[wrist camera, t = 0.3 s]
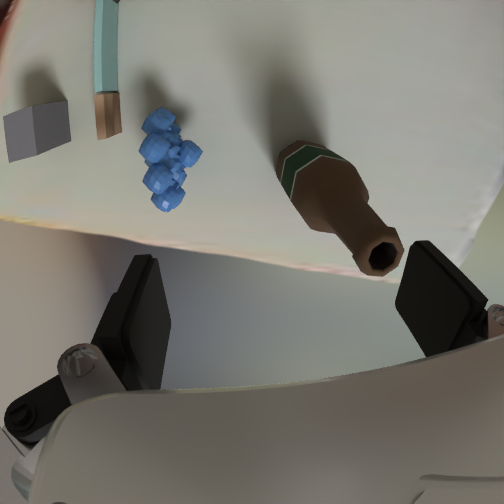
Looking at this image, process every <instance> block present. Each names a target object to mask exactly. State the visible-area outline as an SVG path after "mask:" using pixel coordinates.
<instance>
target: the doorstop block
mask: <svg viewBox="0 0 504 504" xmlns="http://www.w3.org/2000/svg"><path fill="white" fill-rule="evenodd" d="M3 119H4V129H5V138H6V146H7V152H8V159H9V163H10V162H13V161H17V160H21V159H25V158H28V157H32V156H36V155H39V154H41V153H43V152H46V151H48V150H50V149H53V148H55V147H58V146H60V145H62V144H65V143H67V142H70V141H71V135H70V125H69V114H68V100H67V101H60V102H53V103H46V104H40V105H34V106H30V107H27V108H24V109H22V110H19V111H16V112H13V113H11V114H8V115H6V116H3Z"/></svg>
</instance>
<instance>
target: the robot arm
mask: <svg viewBox="0 0 504 504" xmlns="http://www.w3.org/2000/svg"><path fill="white" fill-rule="evenodd" d="M487 301H488V299H487V298H486V297H485V296H484V295H483V293H482V292H481V291H480V290H479V289H478V288H477V287H476V286H475V285H474V284H473V283H472V282H471V281H470V280H469V279H468V278H467V277H466V276H465V275H464V274H463V273H462V272H461V271H460V270H459V269H458V268H457V267H456V266H455V265H454V264H453V263H452V262H451V261H450V260H449V259H448V258H447V257H446V256H445V255H444V254H443V253H442V252H441V251H440V250H439V249H438V248H436V247H435V246H434V245H433V244H432V243H431V242H430V241H428V240H425V241H415V242H414V243H413V245H411V246H410V249H409V253H408V257H407V261H406V265H405V268H404V272H403V276H402V279H401V283H400V287H399V290H398V293H397V297H396V300H395V306H396V309H397V311H398V312H399V314H400V315H401V317H402V318H403V320H404V322H405V323H406V325H407V326H408V328H409V330H410V331H411V333H412V334H413V336H414V338H415V339H416V341H417V343H418V344H419V346H420V348H421V349H422V351H423V352H424V354H425V356H426V358H422V359H418V360H414V361H410V362H406V363H402V364H397V365H393V366H388V367H383V368H379V369H374V370H369V371H364V372H358V373H352V374H347V375H341V376H334V377H328V378H321V379H314V380H307V381H298V382H290V383H280V384H270V385H258V386H244V387H227V388H206V389H164V390H160V388H161V381H162V375H163V369H164V363H165V357H166V351H167V346H168V340H169V335H170V329H171V319H170V313H169V309H168V305H167V301H166V296H165V292H164V287H163V283H162V278H161V274H160V268H159V263H158V260H157V258H152V256H151V254H146V255H135V256H134V258H133V260H132V262H131V264H130V266H129V268H128V270H127V272H126V274H125V276H124V278H123V280H122V282H121V284H120V287H119V289H118V291H117V292H115V293H113V295H112V296H111V298H110V301H109V303H108V305H107V307H106V309H105V311H104V313H103V316H102V318H101V320H100V322H99V325H98V327H97V329H96V332H95V334H94V337H93V339H92V341H91V344H88V343H83V344H77V345H74V346H72V347H70V348H69V349H67V350H66V351H65V352H64V353H63V354H62V355H61V357H60V358H59V360H58V364H57V369H58V375H57V376H55V377H53V378H52V379H50V380H48V381H47V382H45V383H43V384H42V385H40V386H38V387H36V388H35V389H33V390H31V391H29V392H28V393H26V394H25V395H23V396H21V397H19V398H18V399H16V400H15V401H13V402H12V403H11V404H10V405H9V406H8V408H7V410H6V412H5V417H4V422H5V425H4V427H3V428H1V427H0V504H504V306H502V305H499V304H493V305H491V306H490V307H489V308H488V310H487V311H486V310H485V309H484V308H485V306H486V303H487Z"/></svg>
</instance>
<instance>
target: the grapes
mask: <svg viewBox="0 0 504 504" xmlns="http://www.w3.org/2000/svg"><path fill="white" fill-rule="evenodd" d="M175 119H176V117H175V116H174V114H173V113H171V112H170V111H169V110H168V109H166V108H162V107H161V108H159V109H157V110H156V111H155V112H152V113H151V114H149V115H148V117H147V118H146V120H145V122H144V124H143V126H142V130H143V131H144V132H145V133H146V134H147V135H148V136H146V138H145V139H144V141H143V142H142V144H141V146H140V149H139V153H140V154H141V155H142V156H143V157H144V158H145V159H146V160H145V163H146V164H147V166H148V167H149V169H148V171H147V172H146V174H145V176H144V178H143V183H144V184H145V185H146V186H147V188H148V189H149V190H150V191H152V192H153V195H152V197H151V201H152V202H153V203H154V204H155V206H156V207H157V208H158V209H160V210H161V211H163V212H169V211H170V210H171V209H175V208H176V207H177V206H178V205H179V204H180V203H181V201H182V199H183V197H184V195H185V193H186V192H185V191H184V190H183V189H182V188H181V185H182V184H183V182H184V180H185V178H186V176H187V175H186V174H185V171H184V168H185V167H192V166H193V165H194V164H195V163H196V162H197V160H198V159H199V157H200V155H201V154H202V152H203V151H202V150H201V149H200V148H199V147H198V146H197V145H196V144H195V143H193V142H192V141H189V140H185V141H182V140H181V139H180V137H181V136H180V135H179V133H180V131H181V129H180V127H179V126H178V125H176V124H175V123H174V120H175Z"/></svg>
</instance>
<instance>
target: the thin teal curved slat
mask: <svg viewBox="0 0 504 504" xmlns="http://www.w3.org/2000/svg"><path fill="white" fill-rule="evenodd" d="M117 24H118V4H117V3H115V2H114V1H113V0H96V6H95V23H94V88H95V92H112V91H118V80H117Z"/></svg>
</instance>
